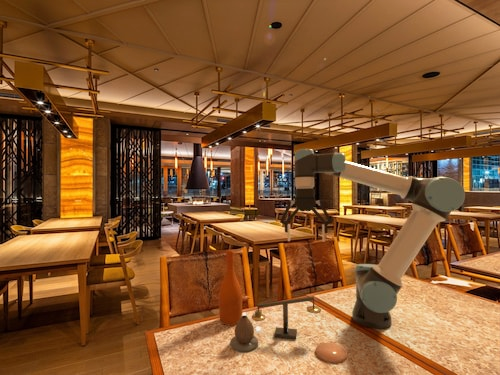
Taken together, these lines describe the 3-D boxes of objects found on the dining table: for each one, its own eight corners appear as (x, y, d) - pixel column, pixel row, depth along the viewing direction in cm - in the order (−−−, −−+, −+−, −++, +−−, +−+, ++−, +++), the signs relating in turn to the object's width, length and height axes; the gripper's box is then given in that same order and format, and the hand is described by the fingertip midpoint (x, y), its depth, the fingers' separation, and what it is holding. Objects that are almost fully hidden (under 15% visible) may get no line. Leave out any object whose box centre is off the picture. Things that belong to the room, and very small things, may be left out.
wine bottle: (245, 317, 121) (244, 248, 122) (237, 327, 112) (236, 253, 112) (225, 314, 125) (224, 247, 125) (215, 324, 115) (214, 251, 116)
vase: (252, 347, 96) (251, 322, 96) (232, 345, 97) (232, 320, 97) (255, 337, 103) (255, 313, 103) (237, 335, 104) (237, 312, 104)
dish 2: (345, 347, 97) (345, 344, 97) (348, 364, 87) (348, 361, 87) (315, 344, 99) (315, 341, 99) (315, 360, 89) (315, 357, 90)
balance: (321, 335, 105) (320, 294, 105) (321, 342, 100) (320, 300, 100) (253, 328, 111) (252, 290, 111) (250, 335, 106) (250, 295, 106)
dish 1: (260, 338, 104) (260, 335, 104) (255, 353, 94) (255, 350, 94) (234, 335, 106) (234, 333, 106) (226, 350, 96) (226, 347, 96)
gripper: (336, 187, 113) (337, 239, 112) (275, 188, 118) (276, 238, 118) (338, 187, 105) (339, 243, 105) (272, 188, 111) (273, 242, 111)
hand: (306, 241), depth 111 cm, fingers open, 13 cm apart
